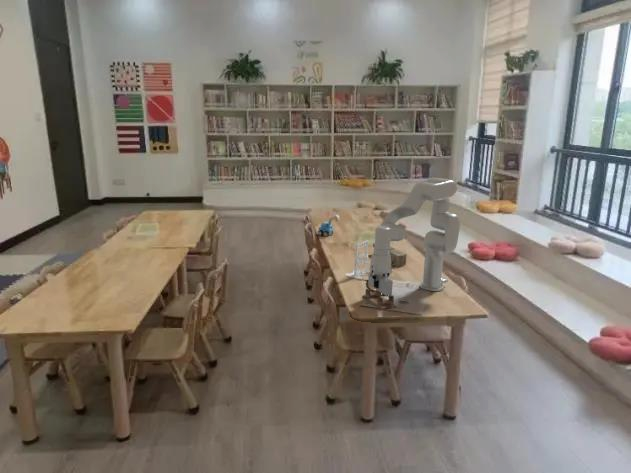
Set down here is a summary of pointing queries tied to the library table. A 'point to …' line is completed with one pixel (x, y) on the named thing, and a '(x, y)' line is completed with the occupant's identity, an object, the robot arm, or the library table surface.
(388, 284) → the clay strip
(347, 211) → the library table surface
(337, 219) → the toy excavator
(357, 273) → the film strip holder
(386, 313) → the library table surface
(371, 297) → the rack
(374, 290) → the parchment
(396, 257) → the grey-brown long block
